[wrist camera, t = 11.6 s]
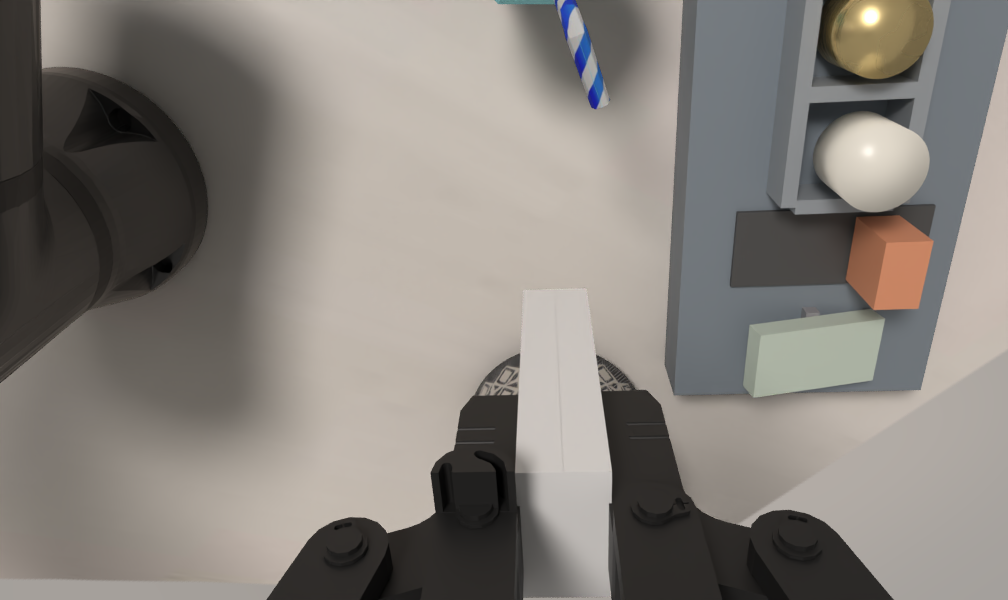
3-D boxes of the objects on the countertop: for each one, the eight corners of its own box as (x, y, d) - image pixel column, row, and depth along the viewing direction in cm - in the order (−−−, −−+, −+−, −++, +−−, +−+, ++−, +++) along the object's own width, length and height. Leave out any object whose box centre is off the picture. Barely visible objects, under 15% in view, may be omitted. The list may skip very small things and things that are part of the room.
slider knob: (845, 279, 43) (873, 309, 39) (856, 216, 41) (886, 242, 38) (886, 278, 43) (918, 308, 39) (899, 215, 41) (933, 241, 37)
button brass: (809, 69, 38) (833, 81, 34) (820, -17, 36) (847, -14, 33) (891, 65, 37) (923, 76, 34) (907, -23, 35) (942, -19, 32)
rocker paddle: (742, 385, 45) (753, 397, 44) (749, 324, 43) (760, 335, 42) (859, 368, 46) (872, 380, 45) (870, 308, 44) (885, 318, 43)
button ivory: (807, 191, 38) (831, 213, 35) (818, 113, 36) (845, 128, 33) (888, 188, 38) (919, 210, 35) (903, 109, 36) (938, 124, 33)
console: (664, 364, 52) (681, 420, 45) (686, -73, 39) (714, -76, 33) (893, 358, 50) (941, 415, 44) (990, -92, 38) (1076, -99, 32)
